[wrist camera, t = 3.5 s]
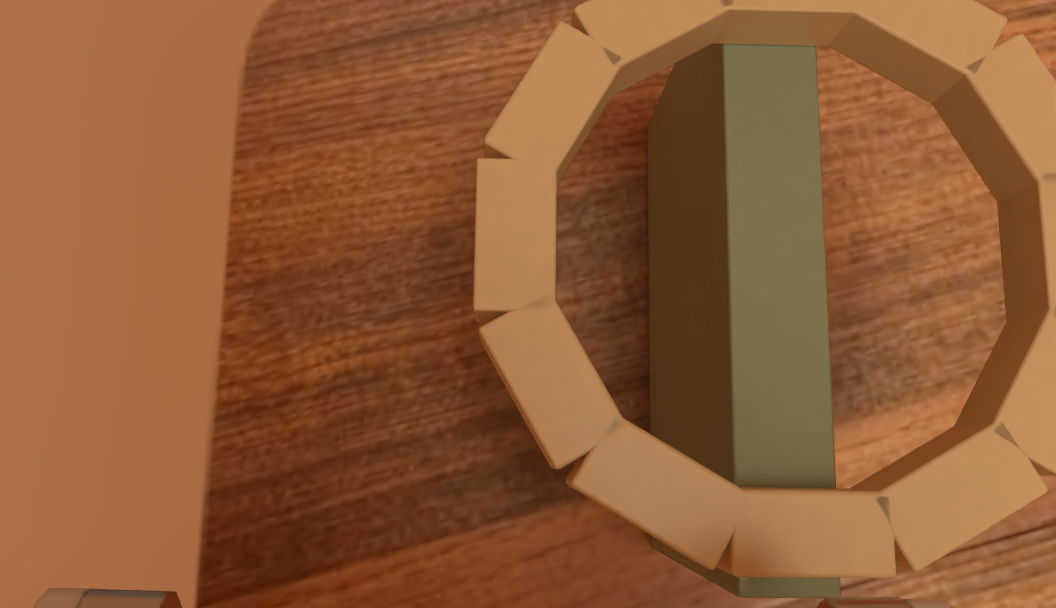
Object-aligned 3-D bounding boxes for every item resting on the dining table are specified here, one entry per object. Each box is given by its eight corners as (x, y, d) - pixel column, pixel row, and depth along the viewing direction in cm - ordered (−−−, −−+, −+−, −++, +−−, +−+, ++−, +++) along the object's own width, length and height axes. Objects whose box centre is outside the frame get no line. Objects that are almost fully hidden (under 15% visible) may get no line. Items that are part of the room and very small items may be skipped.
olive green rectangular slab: (650, 548, 27) (737, 598, 17) (646, 127, 29) (720, -45, 19) (717, 549, 27) (842, 598, 17) (708, 128, 29) (813, -43, 19)
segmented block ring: (469, 565, 17) (466, 574, 15) (483, -28, 19) (482, -69, 18) (1102, 571, 17) (1158, 582, 16) (1047, -12, 19) (1091, -52, 18)
